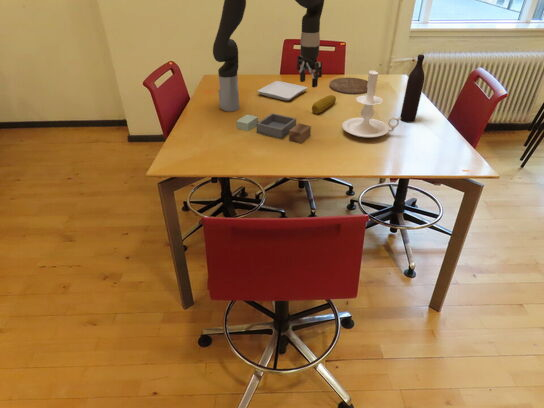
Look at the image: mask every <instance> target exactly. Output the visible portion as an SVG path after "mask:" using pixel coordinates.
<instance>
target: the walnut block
mask: <svg viewBox="0 0 544 408" xmlns="http://www.w3.org/2000/svg"><path fill="white" fill-rule="evenodd" d="M311 131H312V125H308V124H306V123H305V124H304V123H300V122H299V123H296V126H294V127H293V128H292V129H290V130H289V134H288V141H289V142H291V143H292V142H293V143H297V144H300V145H302V144H303V143H304V142H305V141H306V140H308V139H309V138H310V137H311Z"/></svg>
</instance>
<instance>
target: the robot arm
mask: <svg viewBox="0 0 544 408" xmlns="http://www.w3.org/2000/svg"><path fill="white" fill-rule="evenodd" d="M223 1H224V2H223V4H222V5H223V7H222V11H221V16H220V21H219V26H218V30H217V33H216V35H215V40H214V41H213V46H212V54H213V55H212V56H213V58H214V60H215V61H216V62H218V63H223V64H222V65H221V66H220V67H219V68H218V69H217V70H218V81H219V89H218V91H217V92H218V100H219V101H218V102H219V109H221V110H222V111H224V112H235V111H238V110H240V96H239V95H240V94H239V81H238V78H239V77H238V71H239V47H238V44H237V43H236V41H235V40H234V39H233V38H231V36H232V35H233V34H234V33H235V31H236V30H237V28H238V27H239V25H240V24H241V22H242V21H243V19H244V15H245V11H246V6H247V0H223ZM294 1H295V2H296V3H297V4H298V5H299V6H300V7H302V8H303V9H306V12H305V14H304V15H303V16H302V19H301V33H300V34H301V35H300V48H299V49H300V55H298V56H297V60H296V71H298V73H299V82H300V83H305V81H306V71H309V74H310V75H311V76H312V78H311V88H317V87H318V82H319V79H320V78H322V77H323V62H322V61H318V57H319V56H320V43H321V42H320V41H321V37H320V32H321V31H320V30H321V28H320V27H321V17H322V14H323V9H324V4H325V0H294Z"/></svg>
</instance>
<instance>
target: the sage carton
mask: <svg viewBox="0 0 544 408" xmlns="http://www.w3.org/2000/svg"><path fill="white" fill-rule="evenodd" d="M258 122H259V116H255V115H252V114H251V115H250V114H246V115H244V116H243V117H240V118H238V119H237V120H236V129H238V130H241V131H246V132H249V131H251V130H252V129H253V128H255V127H256V124H257V123H258Z"/></svg>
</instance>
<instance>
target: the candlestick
mask: <svg viewBox="0 0 544 408" xmlns="http://www.w3.org/2000/svg"><path fill="white" fill-rule="evenodd" d="M378 75H379V72H378V71H376V70H368V76H367V81H368V84H367V88H368V90H367V93H366V94H364V95H363V94H361V95H358V96H357V97H356V98H355V101H357V102H358V103H360V104H362V105H364V106H363V107H362V108H361V110H360V115H361V117H352V118H347V119H346V120H345V121H343V122H342V124H341V127H342V128H343V131H345V132H347V133H348V134H350V135H351V136H354V137H357V138H363V139H374V138H377V137H381V136H384V135H386V134H388V133H389V132H393V131H394V130H395V128H397V127H398V126H399V124H400V121H399V120H401V118H400V116H399V117H391V118H390V117H389V119H388V121H387V124H386V122H383V121H381V120H379V119H377V118H376V119H375V118H373V117H374V115H375V110H374V107H373V106H375V105H380V104H383V102H384V100H383V99H382V97H379V96H377V95H376V89H377V82H378ZM393 120H395V121H396V124H395V125H392V124H390V122H391V121H393ZM390 128H391V129H390Z"/></svg>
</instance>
